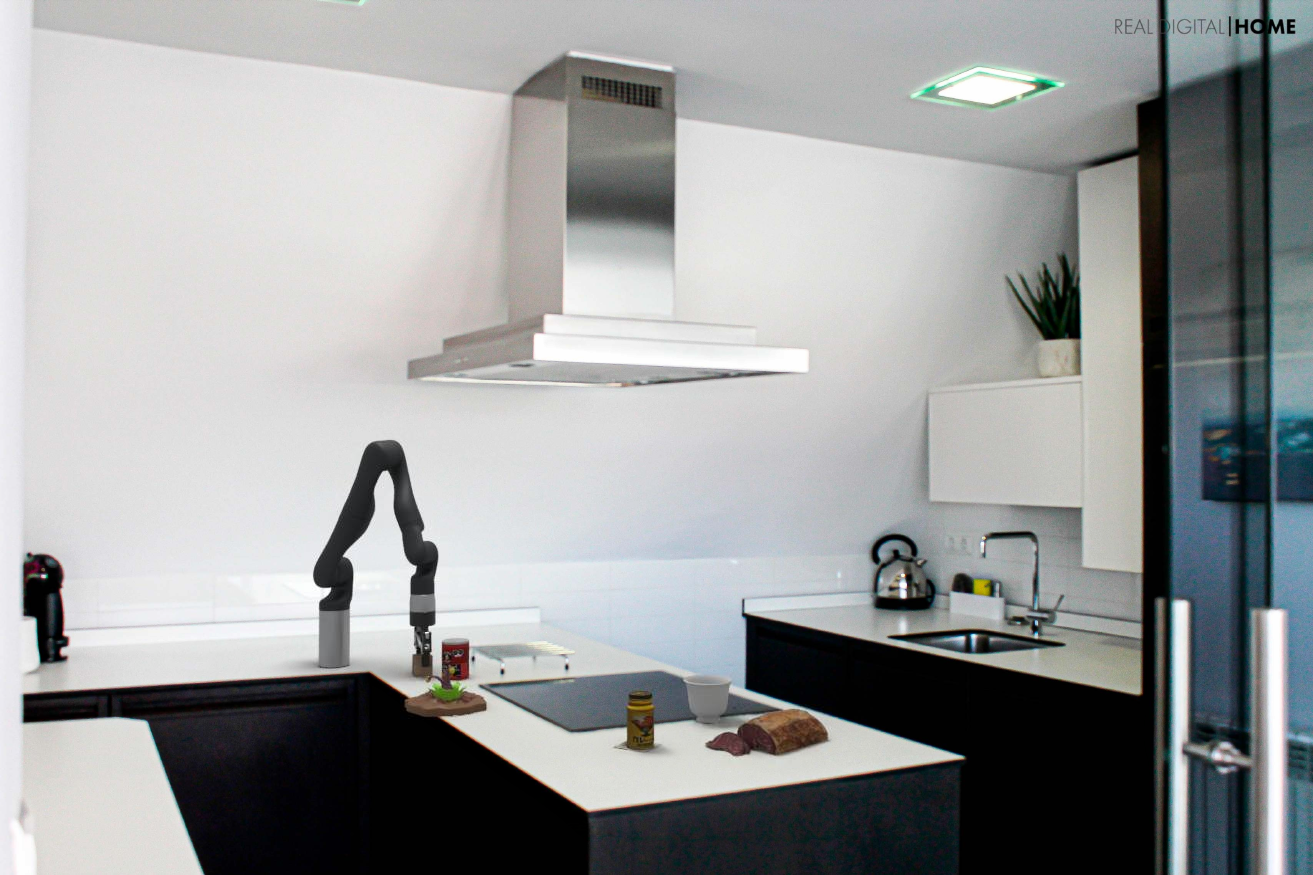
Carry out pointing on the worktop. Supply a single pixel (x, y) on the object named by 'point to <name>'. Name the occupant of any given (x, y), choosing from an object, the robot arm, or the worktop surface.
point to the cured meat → (773, 733)
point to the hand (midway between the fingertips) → (422, 664)
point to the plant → (445, 699)
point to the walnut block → (417, 666)
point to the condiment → (640, 722)
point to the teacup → (708, 696)
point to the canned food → (456, 657)
